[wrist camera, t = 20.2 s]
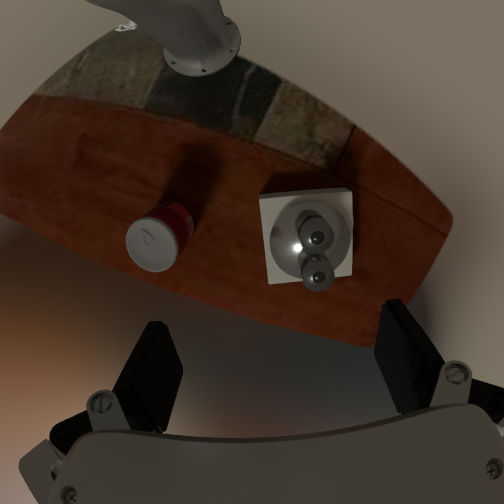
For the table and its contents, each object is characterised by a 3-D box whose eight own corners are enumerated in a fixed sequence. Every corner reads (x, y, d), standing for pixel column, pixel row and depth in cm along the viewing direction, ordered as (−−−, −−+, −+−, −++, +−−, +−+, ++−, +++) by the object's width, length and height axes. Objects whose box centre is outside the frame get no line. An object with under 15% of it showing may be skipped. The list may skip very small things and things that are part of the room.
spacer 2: (296, 247, 40) (301, 264, 35) (325, 244, 40) (334, 260, 34) (298, 273, 42) (303, 293, 36) (326, 270, 41) (334, 289, 36)
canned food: (169, 191, 43) (143, 206, 33) (205, 222, 45) (188, 245, 35) (145, 224, 45) (116, 246, 35) (178, 253, 47) (158, 282, 37)
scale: (259, 194, 43) (259, 199, 39) (346, 187, 42) (355, 191, 38) (268, 273, 48) (268, 285, 44) (346, 264, 47) (354, 275, 43)
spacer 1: (293, 210, 38) (299, 222, 32) (323, 208, 38) (334, 219, 32) (295, 239, 40) (301, 255, 34) (324, 236, 39) (334, 252, 34)
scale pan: (265, 204, 39) (265, 205, 38) (348, 197, 38) (349, 198, 37) (273, 280, 43) (273, 283, 43) (348, 272, 42) (349, 274, 42)
